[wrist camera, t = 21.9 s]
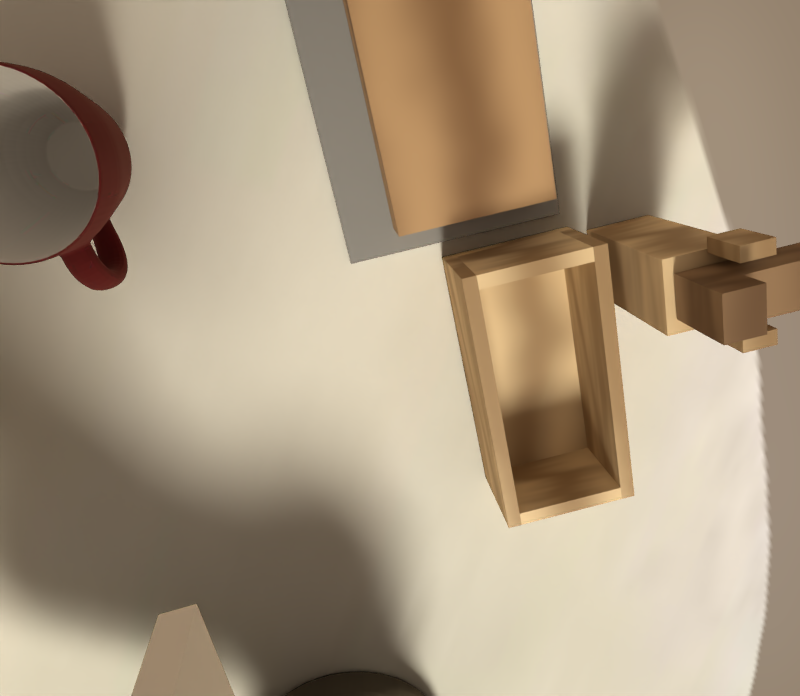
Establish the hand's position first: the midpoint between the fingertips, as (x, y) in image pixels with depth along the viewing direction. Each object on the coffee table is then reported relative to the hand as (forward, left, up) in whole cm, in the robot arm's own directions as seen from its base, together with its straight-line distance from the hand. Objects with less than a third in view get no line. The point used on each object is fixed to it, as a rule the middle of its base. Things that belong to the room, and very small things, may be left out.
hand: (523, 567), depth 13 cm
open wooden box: (+10, -8, -28) cm, 30 cm away
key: (+19, -2, -18) cm, 26 cm away
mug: (-15, +9, -28) cm, 33 cm away
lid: (+5, +11, -27) cm, 30 cm away
